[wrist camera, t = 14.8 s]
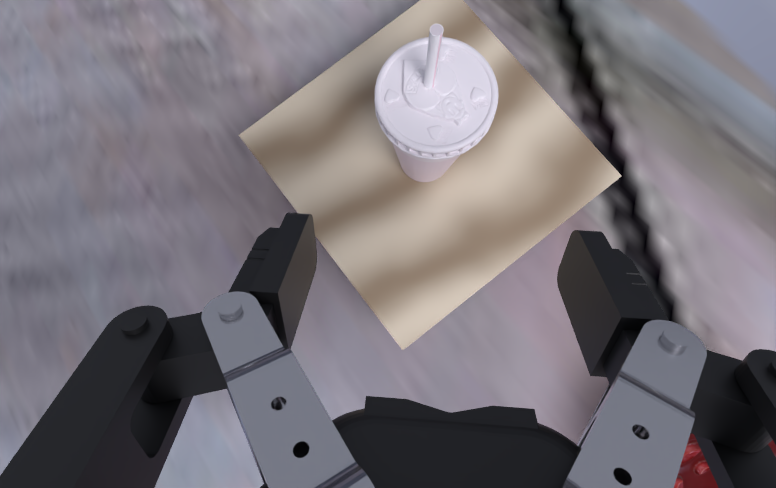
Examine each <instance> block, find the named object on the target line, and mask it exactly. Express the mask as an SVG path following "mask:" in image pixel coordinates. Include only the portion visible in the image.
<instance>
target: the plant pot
mask: <svg viewBox="0 0 776 488" xmlns="http://www.w3.org/2000/svg"><path fill="white" fill-rule="evenodd" d="M768 445H769V446H770V448H771V450H772V451H773V453H774V455H775V456H776V445H775V443H774V441H773V440H772V441H771V442H770V443H769V444H768ZM674 488H718V485H717V483H716V481H715V479H714V477H713V475H712V472H711V470H710V468H709V466H708V464H707V462H706V459H705V457H704V455H703V453H702V451H701V449H700V446H699V444H698V442H697V440H696V438H695V436H694V434H692V433H690V436H689V440H688V443H687V446H686V449H685V452H684V456H683V459H682V462H681V465H680V469H679V472H678V475H677V478H676V482H675V485H674Z"/></svg>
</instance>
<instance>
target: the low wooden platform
mask: <svg viewBox="0 0 776 488" xmlns="http://www.w3.org/2000/svg"><path fill="white" fill-rule="evenodd" d="M433 24H440V25H442V27H443V36H442V37H447V38H452V39H456V40H459V41H461V42H464V43H466V44H468V45H469V46H471V47H473V48H474V49H475V50H477V51H478V52H479V53H480V54H481V55H482V56H483V57H484V58H485V59H486V61H487V62H488V63H489V65H490V66H491V68H492V70H493V72H494V74H495V77H496V80H497V85H498V105H497V109H496V112H495V115H494V119H493V121H492V124H491V126H490V128H489V130H488V132H487V133H486V135H485V136H484V137H483V138H482V139H481V140H480V142H479V143H478V144H477V145H475V146H474V147H472V148H471V149H469V150H468V151H467V152H465V153H463V154H461V155H460V156H459V157H458V158H457V159H456V161H455V162H454V163H453V164H452V165H451V166H450V167H449V169H448V170H447V171H446V172H445V173H444V174H443V175H442V176H441V177H440V178H438V179H436V180H434V181H431V182H419V181H415V180H413V179H411V178H410V177H409V176H407V175H406V174H405V172H404V171H403V169H402V167H401V165H400V162H399V159H398V157H397V154H396V151H395V149H394V146H393V144H392V142H391V141H390V140H389V139H388V137H387V136H386V135H385V133H384V132H383V131H382V129H381V127H380V124H379V122H378V119H377V117H376V112H375V101H374V99H375V85H376V81H377V77H378V75H379V72H380V70H381V68H382V66H383V65H384V63H385V62H386V60H387V59H388V58H389V57H390V56H391V55H392V54H393V53H394V52H395V51H396V50H398V49H399V48H400V47H402V46H403V45H405V44H407V43H409V42H412V41H414V40H417V39H421V38H425V37H429V32H430V27H431V26H432V25H433ZM239 136H240V138H241V139H242V140H243V142H244V143H245V144H246V146H247V147H248V148H249V150H250V151H251V152H252V153H253V155H254V156H255V157H256V159H257V160H258V161H259V163H260V164H261V165H262V167H263V168H264V169H265V171H266V172H267V173H268V174H269V176H270V177H271V178H272V180H273V181H274V182H275V184H276V185H277V186H278V188H279V189H280V190H281V191H282V193H283V194H284V195H285V197H286V198H287V199H288V201H289V202H290V203H291V205H292V206H293V207H294V209H295V210H296V211H297V212H298V213H301V214H311V215H312V216H313V222H314V231H315V236H316V237H317V239H318V240H319V241H320V243H321V244H322V245H323V247H324V248H325V249H326V250H327V252H328V253H329V254H330V256H331V257H332V258H333V260H334V261H335V262H336V264H337V265H338V266H339V267H340V269H341V270H342V271H343V273H344V274H345V275H346V277H347V278H348V279H349V281H350V282H351V283H352V285H353V286H354V287H355V288H356V290H357V291H358V292H359V294H360V295H361V296H362V298H363V299H364V300H365V302H366V303H367V304H368V306H369V307H370V308H371V309H372V311H373V312H374V313H375V315H376V316H377V317H378V319H379V320H380V321H381V323H382V324H383V325H384V326H385V328H386V329H387V330H388V332H389V333H390V334H391V336H392V337H393V338H394V340H395V341H396V342H397V344H398V345H399V346H400V347H401V349H402V350H404V349H405V348H407V347H408V346H409V345H410V344H412V343H413V342H414V341H415V340H417V339H418V338H419V337H420V336H422V335H423V334H424V333H425V332H427V331H428V330H429V329H430V328H432V327H433V326H434V325H435V324H437V323H438V322H439V321H440V320H442V319H443V318H444V317H445V316H447V315H448V314H449V313H450V312H452V311H453V310H454V309H455V308H457V307H458V306H459V305H461V304H462V303H463V302H464V301H466V300H467V299H468V298H469V297H471V296H472V295H473V294H474V293H476V292H477V291H478V290H479V289H481V288H482V287H483V286H484V285H486V284H487V283H488V282H489V281H491V280H492V279H493V278H494V277H496V276H497V275H498V274H499V273H501V272H502V271H503V270H504V269H506V268H507V267H508V266H509V265H511V264H512V263H513V262H514V261H516V260H517V259H518V258H519V257H521V256H522V255H523V254H525V253H526V252H527V251H528V250H530V249H531V248H532V247H533V246H535V245H536V244H537V243H538V242H540V241H541V240H542V239H543V238H545V237H546V236H547V235H548V234H550V233H551V232H552V231H553V230H555V229H556V228H557V227H558V226H560V225H561V224H562V223H563V222H565V221H566V220H567V219H568V218H570V217H571V216H572V215H573V214H575V213H576V212H577V211H578V210H580V209H581V208H582V207H583V206H585V205H586V204H587V203H589V202H590V201H591V200H592V199H594V198H595V197H596V196H597V195H599V194H600V193H601V192H602V191H604V190H605V189H606V188H607V187H609V186H610V185H611V184H612V183H614V182H615V181H616V180H617V179H619V178H620V177H621V175H620V174H619V173H618V171H617V170H616V169H615V168H614V167H613V166H612V165H611V164H610V163H609V161H608V160H607V159H606V158H605V157H604V156H603V155H602V154H601V153H600V152H599V150H598V149H597V148H596V147H595V146H594V145H593V144H592V143H591V142H590V140H589V139H588V138H587V137H586V136H585V135H584V134H583V133H582V132H581V130H580V129H579V128H578V127H577V126H576V125H575V124H574V123H573V122H572V120H571V119H570V118H569V117H568V116H567V115H566V114H565V113H564V112H563V111H562V109H561V108H560V107H559V106H558V105H557V104H556V103H555V102H554V101H553V99H552V98H551V97H550V96H549V95H548V94H547V93H546V92H545V91H544V89H543V88H542V87H541V86H540V85H539V84H538V83H537V82H536V81H535V79H534V78H533V77H532V76H531V75H530V74H529V73H528V72H527V71H526V70H525V68H524V67H523V66H522V65H521V64H520V63H519V62H518V61H517V60H516V58H515V57H514V56H513V55H512V54H511V53H510V52H509V51H508V50H507V48H506V47H505V46H504V45H503V44H502V43H501V42H500V41H499V40H498V38H497V37H496V36H495V35H494V34H493V33H492V32H491V31H490V30H489V29H488V27H487V26H486V25H485V24H484V23H483V22H482V21H481V20H480V19H479V17H478V16H477V15H476V14H475V13H474V12H473V11H472V10H471V9H470V7H469V6H468V5H467V4H466V3H465V2H464V1H463V0H420V1H419V2H417V3H416V4H415V5H413V6H412V7H410V8H409V9H408V10H406V11H405V12H404V13H402V14H401V15H400V16H398V17H397V18H396V19H394V20H393V21H392V22H390V23H389V24H388V25H386V26H385V27H384V28H382V29H381V30H380V31H378V32H377V33H375V34H374V35H373V36H371V37H370V38H369V39H367V40H366V41H365V42H363V43H362V44H361V45H359V46H358V47H357V48H355V49H354V50H353V51H351V52H350V53H349V54H347V55H346V56H345V57H343V58H342V59H340V60H339V61H338V62H336V63H335V64H334V65H332V66H331V67H330V68H328V69H327V70H326V71H324V72H323V73H322V74H320V75H319V76H318V77H316V78H315V79H314V80H312V81H311V82H310V83H308V84H307V85H305V86H304V87H303V88H301V89H300V90H299V91H297V92H296V93H295V94H293V95H292V96H291V97H289V98H288V99H287V100H285V101H284V102H283V103H281V104H280V105H279V106H277V107H276V108H275V109H273V110H272V111H271V112H269V113H268V114H266V115H265V116H264V117H262V118H261V119H260V120H258V121H257V122H256V123H254V124H253V125H252V126H250V127H249V128H248V129H246V130H245V131H244V132H242V133H241V134H240V135H239Z"/></svg>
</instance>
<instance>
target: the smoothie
mask: <svg viewBox="0 0 776 488" xmlns="http://www.w3.org/2000/svg"><path fill="white" fill-rule="evenodd" d="M442 36H443V27H442V25H440V24H433V25H432V26H431V27H430V32H429V37H425V38H421V39H417V40H414V41H412V42H409V43H407V44H405V45H403V46H402V47H400V48H399V49H398V50H396V51H395V52H394V53H393V54H392V55H391V56H390V57H389V58H388V59H387V60H386V62H385V63H384V65H383V66H382V68H381V70H380V72H379V75H378V77H377V81H376V85H375V99H374V101H375V112H376V117H377V119H378V122H379V124H380V127H381V129H382V131H383V132H384V133H385V135H386V136H387V137H388V139H389V140H390V141H391V142H392V144H393V146H394V149H395V151H396V154H397V157H398V159H399V162H400V165H401V167H402V169H403V171H404V172H405V174H406V175H407V176H409V177H410V178H411V179H413V180H415V181H419V182H431V181H434V180H436V179H438V178H440V177H441V176H442V175H443V174H444V173H445V172H446V171H447V170H448V169H449V167H450V166H451V165H452V164H453V163H454V162H455V161H456V159H457V158H458V157H459V156H460V155H461V154H463V153H465V152H467V151H468V150H469V149H471V148H472V147H474V146H475V145H477V144H478V143H479V142H480V140H481V139H482V138H483V137H484V136H485V135H486V133H487V132H488V130H489V128H490V126H491V124H492V121H493V119H494V115H495V112H496V109H497V105H498V85H497V80H496V77H495V74H494V72H493V70H492V68H491V66H490V65H489V63H488V62H487V61H486V59H485V58H484V57H483V56H482V55H481V54H480V53H479V52H478V51H477V50H475V49H474V48H473V47H471V46H469V45H468V44H466V43H464V42H461V41H459V40H456V39H452V38H447V37H442Z"/></svg>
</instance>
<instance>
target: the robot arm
mask: <svg viewBox="0 0 776 488" xmlns="http://www.w3.org/2000/svg"><path fill="white" fill-rule="evenodd" d="M316 263H317V250H316V241H315V231H314V222H313V216H312V215H311V214H301V213H287V214H286V216H285V218H284V220H283V222H282V224H281V226H280V228H269V229H267V230H266V231H265V232H264V233H262V234H261V235H260V236H259V237H258V238H257V240H256V242H255V244H254V246H253V247H252V251H250V253H249V255H248V257H247V260H245V262H244V264H243V266H242V268H241V270H240V272H239V274H238V275H237V277H236V279H235V281H234V283H233V285H232V287H231V288H230V290H229V292H228V293H225V294H222V295H220V296H218V297H216V298H214V299H213V300H211V301H210V302H209V303H208V304H207V305H206V306H205V308H204V310H203V312H200V313H196V314H191V315H186V316H180V317H175V318H169V319H168V318H167V315H166V313H165V312H164V311H163V310H162V309H161V308H158V307H155V306H140V307H136V308H132V309H130V310H127V311H125V312H123V313H121V314H120V315H118V316H117V317H115V318H114V319H113V320H112V321H111V322H110V323H109V324H108V325H107V326H106V328H105V329H104V331H103V332H102V333H101V335H100V336H99V338H98V339H97V341H96V342H95V343H94V345H93V346H92V348H91V349H90V350H89V352H88V353H87V355H86V356H85V357H84V359H83V360H82V362H81V363H80V364H79V366H78V367H77V369H76V370H75V371H74V373H73V374H72V376H71V377H70V378H69V380H68V381H67V383H66V384H65V385H64V387H63V388H62V390H61V391H60V393H59V394H58V395H57V397H56V398H55V400H54V401H53V402H52V404H51V405H50V407H49V408H48V409H47V411H46V412H45V414H44V415H43V416H42V418H41V419H40V421H39V422H38V423H37V425H36V426H35V428H34V429H33V430H32V432H31V433H30V435H29V436H28V437H27V439H26V440H25V442H24V443H23V445H22V446H21V447H20V449H19V450H18V452H17V453H16V454H15V456H14V457H13V459H12V460H11V461H10V463H9V464H8V466H7V467H6V468H5V470H4V471H3V473H2V474H1V475H0V488H154V487H155V485H156V482H157V480H158V478H159V475H160V473H161V471H162V468H163V466H164V463H165V461H166V459H167V456H168V454H169V452H170V449H171V447H172V445H173V442H174V440H175V437H176V435H177V433H178V430H179V428H180V426H181V423H182V421H183V419H184V416H185V414H186V412H187V409H188V407H189V404H190V402H191V400H192V397H193V396H195V395H199V394H204V393H208V392H213V391H218V390H222V389H227V390H228V393H229V395H230V398H231V400H232V403H233V405H234V408H235V410H236V413H237V416H238V418H239V421H240V423H241V426H242V428H243V431H244V433H245V436H246V439H247V441H248V444H249V446H250V449H251V452H252V454H253V457H254V460H255V462H256V465H257V467H258V470H259V473H260V475H261V478H262V480H263V483H264V484H263V485H262V486H261V487H260V488H674V485H675V482H676V478H677V475H678V472H679V469H680V465H681V462H682V459H683V456H684V452H685V449H686V446H687V443H688V440H689V436H690V433H692V434H694V436H695V438H696V440H697V442H698V444H699V446H700V449H701V451H702V453H703V455H704V457H705V459H706V462H707V464H708V466H709V468H710V470H711V472H712V475H713V477H714V479H715V481H716V483H717V485H718V488H776V456H775V455H774V453H773V451H772V450H771V448H770V446H769V445H768V444H769V443H770V442H771V441H772V440H773V441H774V443H775V445H776V352H775V351H771V350H763V349H759V350H754V351H752V352H750V353H749V354H748V355H747V356H746V357H745V359H744V360H743V361H741V360H738V359H735V358H731V357H728V356H725V355H721V354H718V353H715V352H711V351H708V350H706V348H705V346H704V344H703V342H702V341H701V340H700V339H699V338H698V337H697V336H696V335H695V334H694V333H693V332H691V331H690V330H688V329H687V328H685V327H683V326H681V325H679V324H676V323H674V322H670V321H669V320H668V318H667V317H666V315H665V313H664V312H663V310H662V309H661V307H660V305H659V304H658V302H657V300H656V299H655V297H654V295H653V294H652V292H651V291H650V289H649V287H648V286H646V282H645V281H644V279H643V278H642V276H640V273H639V271H638V269H637V268H636V266H635V264H634V263H633V261H632V260H631V259H630V258H628V257H627V256H626V255H625V254H623V253H622V252H621V251H620V250H619V249H612V248H611V246H610V244H609V243H608V241H607V239H606V237H605V236H604V234H603V233H602V232H597V231H580V230H575V231H573V232H572V234H571V236H570V239H569V241H568V244H567V247H566V250H565V253H564V255H563V258H562V261H561V264H560V266H559V270H558V276H557V282H558V288H559V291H560V294H561V296H562V299H563V302H564V305H565V307H566V310H567V313H568V316H569V318H570V321H571V324H572V327H573V329H574V332H575V335H576V338H577V340H578V343H579V346H580V349H581V351H582V354H583V357H584V360H585V362H586V365H587V368H588V371H589V373H590V376H601V377H607V379H608V381H609V385H608V387H607V389H606V391H605V392H604V394H603V396H602V398H601V400H600V402H599V404H598V406H597V408H596V410H595V411H594V413H593V415H592V417H591V419H590V421H589V423H588V425H587V427H586V429H585V431H584V432H583V434H582V436H581V438H580V440H579V442H578V443H577V445H576V444H575V443H574V442H572V441H571V440H569V439H568V438H567V437H565V436H564V435H562V434H560V433H559V432H557V431H555V430H553V429H551V428H549V427H547V426H544V425H542V424H539V423H537V419H536V414H535V410H534V409H527V408H514V407H501V406H489V407H483V408H477V409H471V410H466V411H460V412H453V413H450V412H445V411H442V410H439V409H436V408H433V407H429V406H426V405H423V404H420V403H417V402H414V401H411V400H408V399H397V398H384V397H371V396H366V402H365V409H361V410H356V411H353V412H350V413H346V414H344V415H342V416H340V417H337V418H336V419H334V420H331V418H330V417H329V415H328V413H327V411H326V410H325V408H324V406H323V404H322V403H321V401H320V399H319V397H318V396H317V394H316V392H315V390H314V389H313V387H312V385H311V383H310V382H309V380H308V378H307V376H306V375H305V373H304V371H303V370H302V368H301V366H300V364H299V363H298V361H297V359H296V357H295V356H294V354H293V352H292V351H291V346H292V343H293V340H294V336H295V333H296V330H297V327H298V324H299V321H300V318H301V314H302V311H303V308H304V305H305V302H306V299H307V296H308V292H309V289H310V286H311V283H312V280H313V277H314V274H315V270H316Z"/></svg>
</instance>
